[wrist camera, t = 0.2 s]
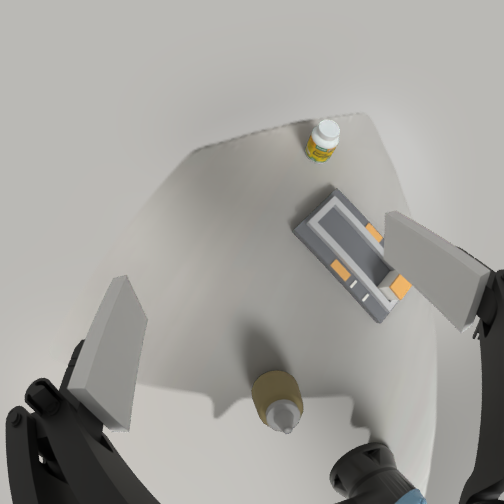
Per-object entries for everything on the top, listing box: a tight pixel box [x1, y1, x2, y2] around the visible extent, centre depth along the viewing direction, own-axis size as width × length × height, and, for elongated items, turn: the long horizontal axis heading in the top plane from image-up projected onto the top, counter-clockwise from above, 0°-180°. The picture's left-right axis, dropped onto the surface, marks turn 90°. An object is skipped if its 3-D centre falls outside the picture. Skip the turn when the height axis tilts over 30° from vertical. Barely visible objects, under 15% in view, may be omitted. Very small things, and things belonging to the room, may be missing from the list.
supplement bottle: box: [305, 120, 340, 164], centre depth 47 cm, size 5×5×10 cm
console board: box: [293, 188, 399, 323], centre depth 47 cm, size 24×12×4 cm, turn 44°
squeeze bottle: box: [251, 370, 303, 434], centre depth 36 cm, size 8×8×18 cm
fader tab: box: [377, 270, 412, 300], centre depth 43 cm, size 3×4×5 cm
